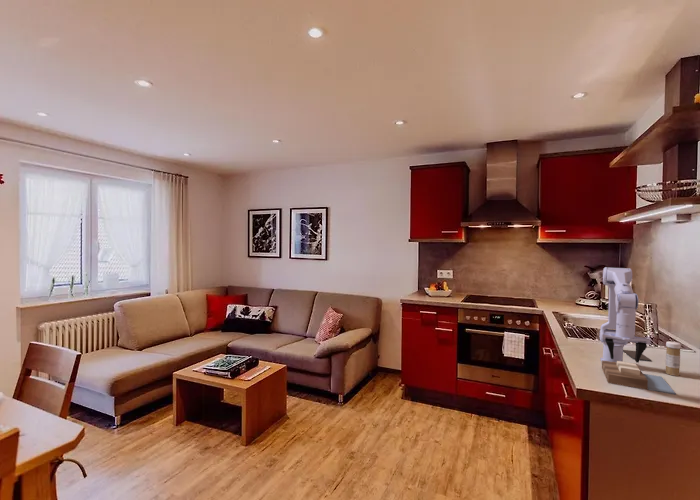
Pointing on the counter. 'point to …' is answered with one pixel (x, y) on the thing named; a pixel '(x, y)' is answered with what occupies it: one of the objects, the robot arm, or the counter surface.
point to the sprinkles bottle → (673, 358)
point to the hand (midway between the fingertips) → (624, 360)
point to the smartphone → (633, 353)
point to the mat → (658, 384)
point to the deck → (623, 376)
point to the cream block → (628, 368)
